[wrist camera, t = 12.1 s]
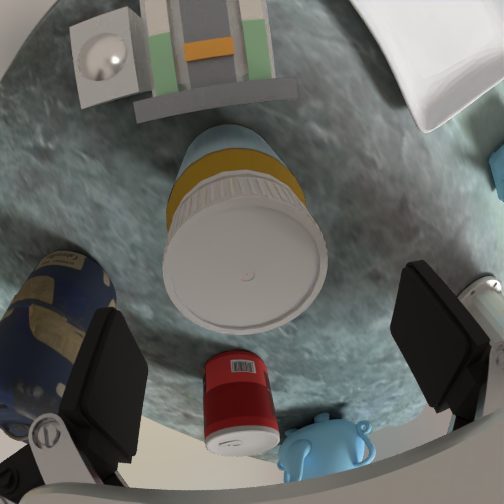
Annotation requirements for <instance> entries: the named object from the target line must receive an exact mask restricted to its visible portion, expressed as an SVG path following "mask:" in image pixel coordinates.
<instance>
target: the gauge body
mask: <svg viewBox="0 0 504 504" xmlns="http://www.w3.org/2000/svg"><path fill="white" fill-rule="evenodd" d="M139 1H140V10H141V17H139V16H138V15H137V14H136V13H135V12H134V11H132V10H131V9H130V8H129V7H128V6H127V7H123V8H120V9H117V10H114V11H111V12H108V13H105V14H102V15H99V16H96V17H94V18H91V19H88V20H86V21H83V22H81V23H78V24H76V25H74V26H71V27H69V28H70V38H71V47H72V55H73V63H74V70H75V76H76V82H77V88H78V94H79V99H80V105H81V109H84V108H88V107H92V106H96V105H101V104H105V103H108V102H112V101H115V100H118V99H122V98H125V97H129V96H133V95H137V94H140V93H144V92H148V91H152V95H153V97H156V96H160V95H165V94H169V93H174V92H179V91H184V90H189V89H191V86H190V79H189V72H188V66H187V62H186V61H185V55H184V48H183V44H184V37H183V30H182V22H181V14H180V6H179V0H139ZM226 4H227V11H228V19H229V26H230V34H231V37H232V38H233V45H234V53H235V54H234V64H235V71H236V79H237V82H242V81H251V80H261V79H273V78H276V75H275V66H274V58H273V50H272V42H271V34H270V26H269V19H268V11H267V4H266V0H226Z"/></svg>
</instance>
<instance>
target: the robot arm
mask: <svg viewBox="0 0 504 504" xmlns="http://www.w3.org/2000/svg"><path fill="white" fill-rule="evenodd" d="M390 330H391V334H392V336H393V338H394V340H395V342H396V343H397V345H398V347H399V349H400V351H401V352H402V354H403V356H404V358H405V360H406V362H407V364H408V365H409V367H410V369H411V371H412V373H413V375H414V377H415V379H416V381H417V383H418V385H419V387H420V389H421V390H422V392H423V394H424V396H425V398H426V400H427V403H428V404H429V406H430V407H434V409H435V411H436V413H439V412H442V411H444V410H446V409H448V408H450V409H451V411H452V417H451V421H450V425H449V428H448V432H447V434H446V435H444V436H442V437H440V438H437V439H435V440H433V441H430V442H428V443H426V444H424V445H421V446H419V447H416V448H413V449H411V450H408V451H406V452H403V453H401V454H397V455H395V456H392V457H389V458H386V459H383V460H380V461H377V462H374V463H370V464H367V465H364V466H360V467H357V468H353V469H349V470H346V471H342V472H338V473H334V474H330V475H325V476H321V477H316V478H311V479H306V480H301V481H295V482H289V483H283V484H276V485H269V486H260V487H250V488H239V489H226V490H159V489H142V488H130V487H129V486H128V485H127V483H126V482H125V481H124V479H123V478H122V476H121V475H120V474H119V472H118V471H117V467H118V462H120V463H130V464H131V460H132V456H135V455H136V451H137V444H138V436H139V428H140V421H141V414H142V407H143V401H144V395H145V388H146V382H147V376H148V365H147V362H146V361H145V359H144V357H143V355H142V353H141V351H140V349H139V347H138V345H137V344H136V342H135V340H134V338H133V336H132V334H131V332H130V330H129V328H128V326H127V324H126V321H125V319H124V317H123V315H122V313H121V312H120V311H117V310H116V309H115V308H114V307H103V308H98V309H96V311H95V313H94V315H93V318H92V320H91V322H90V325H89V327H88V329H87V332H86V334H85V337H84V339H83V342H82V344H81V347H80V349H79V352H78V354H77V357H76V360H75V362H74V365H73V368H72V370H71V373H70V376H69V379H68V381H67V384H66V387H65V390H64V393H63V396H62V399H61V402H60V405H59V412H58V415H56V414H52V413H47V414H43V415H41V416H39V417H38V418H37V419H35V420H34V422H33V423H32V425H31V427H30V429H29V434H28V439H29V444H27V445H26V446H24V447H23V448H21V449H20V450H19V451H17V452H16V453H14V454H13V455H12V456H10V457H9V458H7V459H6V460H4V461H3V462H1V463H0V504H504V297H503V295H502V294H501V284H500V282H499V281H498V280H497V279H496V278H495V277H493V276H486V277H483V278H480V279H478V280H476V281H475V282H473V283H472V284H471V285H469V286H468V287H467V288H466V289H465V290H464V291H463V292H462V293H461V294H460V295H459V296H458V297H456V296H455V294H454V293H453V292H452V291H451V290H450V289H449V287H448V286H447V285H446V284H445V283H444V282H443V281H442V279H441V278H440V277H439V276H438V275H437V274H436V273H435V272H434V271H433V269H432V268H431V267H430V266H429V265H428V264H427V263H426V262H425V261H424V260H419V261H414V262H409V263H407V265H406V267H405V268H403V270H402V273H401V279H400V284H399V289H398V294H397V298H396V303H395V308H394V312H393V316H392V321H391V325H390Z"/></svg>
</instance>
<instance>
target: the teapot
mask: <svg viewBox="0 0 504 504" xmlns="http://www.w3.org/2000/svg"><path fill="white" fill-rule="evenodd" d="M314 421H315V423H314V424H311V425H308V426H305V427H303V428H301V429H299V430H298V429H290V430H287V431H285V432H284V434H285V435H286V436H287V438H286V439H285V441H284V442H283V443H282V445H281V447H280V448H279V452H278V455H279V459H280V460H279V461H278V463H277V466H278V468H279V469H280V470H282V471H284V483H289V482H295V481H301V480H306V479H311V478H316V477H321V476H325V475H330V474H334V473H338V472H342V471H346V470H349V469H353V468H357V467H360V466H364V465H367V464H369V463H370V462H371V461H372V460H373V459H374V457H375V455H376V450H375V447H374V445H373V443H372V442H371V441H370V439H369V438H368V437H367V436H366V434H367V433H369V432H370V431H371V423H370V422H369V421H360V422H359V423H357V425H356V424H354V423H352V422H350V421H347V420H343V419H333V420H329V413H321V414H318V415H317V416H315V417H314ZM363 426H367V429H366V430H365V431H363V429H362V428H363ZM364 442H365V444H366V445H367V447H368V449H369V456H368V457H367V458H366V459H365V460H364V461H362V458H363V453H364ZM361 461H362V462H361Z"/></svg>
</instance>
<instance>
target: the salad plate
mask: <svg viewBox="0 0 504 504" xmlns="http://www.w3.org/2000/svg"><path fill="white" fill-rule="evenodd" d="M349 1H350V3H351V4H352V5H353V7H354V8H355V9H356V11H357V12H358V14H359V15H360V17H361V18H362V20H363V21H364V23H365V24H366V26H367V27H368V29H369V30H370V32H371V34H372V35H373V37H374V39H375V40H376V42H377V44H378V45H379V47H380V49H381V51H382V53H383V55H384V56H385V58H386V60H387V62H388V64H389V66H390V68H391V70H392V73H393V75H394V77H395V79H396V81H397V84H398V86H399V88H400V90H401V93H402V95H403V97H404V100H405V102H406V105H407V107H408V109H409V111H410V113H411V115H412V118H413V120H414V122H415V124H416V126H417V127H418V129H419V130H420V131H421V132H423V133H428V132H431V131H433V130H434V129H436V128H438V127H439V126H441V125H442V124H444V123H445V122H447V121H448V120H450V119H451V118H452V117H454V116H455V115H456V114H458V113H459V112H460V111H462V110H463V109H464V108H466V107H467V106H469V105H470V104H471V103H473V102H474V101H475V100H476V99H478V98H479V97H480V96H482V95H483V94H484V93H486V92H487V91H488V90H490V89H491V88H492V87H494V86H495V85H496V84H498V83H499V82H501V81H502V80H504V0H349Z"/></svg>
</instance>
